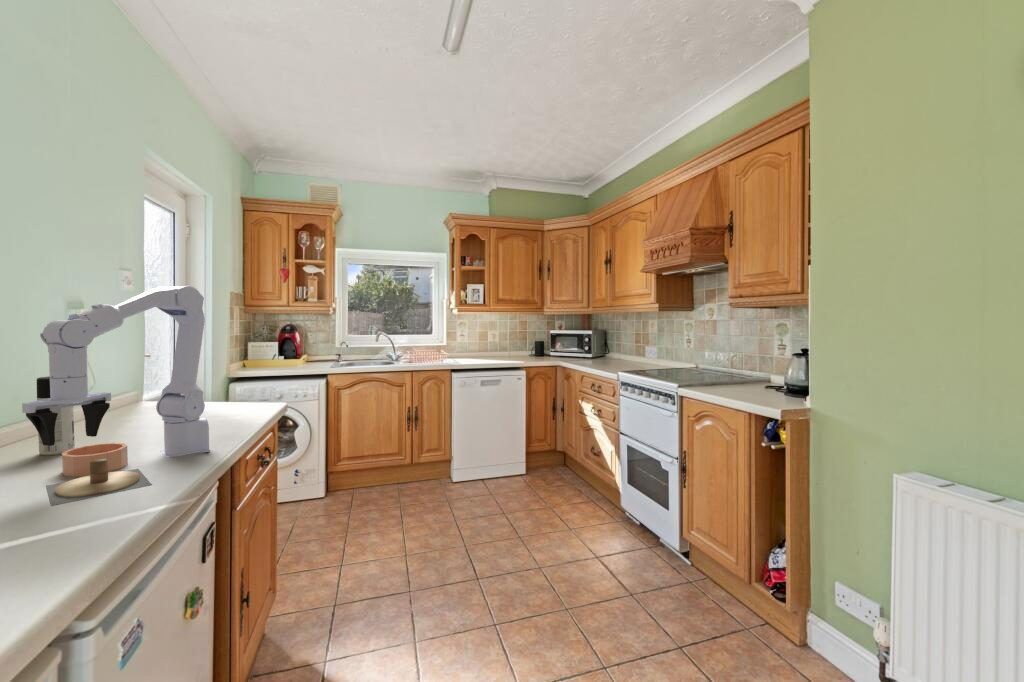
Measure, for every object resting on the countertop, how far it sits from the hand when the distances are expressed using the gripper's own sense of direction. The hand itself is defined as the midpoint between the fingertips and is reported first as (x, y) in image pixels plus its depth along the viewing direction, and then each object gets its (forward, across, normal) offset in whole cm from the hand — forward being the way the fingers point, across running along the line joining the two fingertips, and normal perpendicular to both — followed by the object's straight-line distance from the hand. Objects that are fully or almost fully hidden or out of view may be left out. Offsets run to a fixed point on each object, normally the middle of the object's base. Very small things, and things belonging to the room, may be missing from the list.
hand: (71, 440), depth 96 cm
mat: (+10, 0, +7) cm, 12 cm away
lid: (+9, 0, +7) cm, 12 cm away
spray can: (+10, -16, -31) cm, 36 cm away
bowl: (+10, -8, -6) cm, 14 cm away
